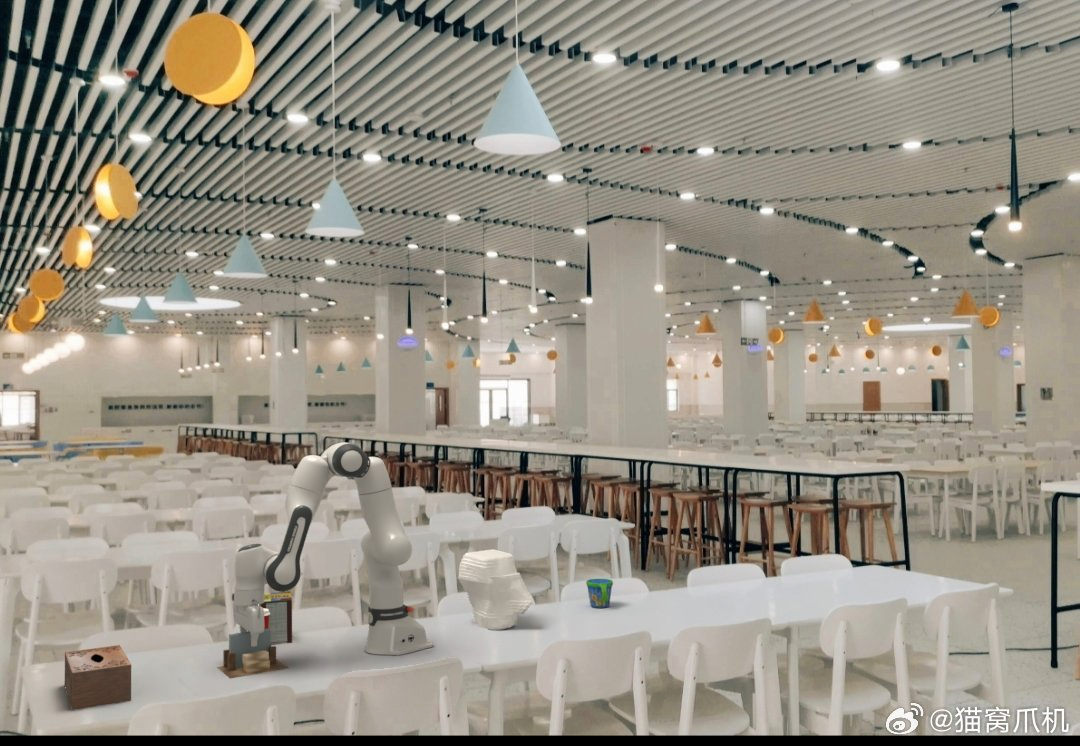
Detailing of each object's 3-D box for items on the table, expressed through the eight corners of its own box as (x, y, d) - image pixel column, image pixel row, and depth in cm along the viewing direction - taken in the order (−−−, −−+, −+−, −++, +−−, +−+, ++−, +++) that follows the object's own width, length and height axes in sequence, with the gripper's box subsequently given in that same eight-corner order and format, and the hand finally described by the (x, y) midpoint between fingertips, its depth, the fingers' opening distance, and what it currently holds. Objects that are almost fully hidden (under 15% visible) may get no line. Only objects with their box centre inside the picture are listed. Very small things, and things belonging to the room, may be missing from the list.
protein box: (290, 635, 319) (290, 590, 320) (292, 645, 304) (292, 598, 305) (259, 637, 316) (259, 593, 317) (260, 648, 301) (260, 601, 302)
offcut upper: (265, 658, 275) (264, 650, 275) (268, 660, 273) (268, 652, 273) (242, 662, 271) (242, 654, 271) (246, 664, 268) (246, 656, 268)
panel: (268, 660, 282) (268, 628, 282) (270, 662, 280) (270, 630, 280) (229, 667, 275) (229, 634, 276) (231, 669, 273) (231, 635, 274)
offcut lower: (266, 666, 275) (266, 658, 275) (269, 669, 272) (269, 660, 273) (243, 670, 271) (243, 662, 271) (246, 673, 269) (246, 664, 269)
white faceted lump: (504, 615, 344) (503, 548, 346) (534, 630, 320) (533, 557, 321) (452, 622, 335) (451, 552, 336) (479, 637, 311) (478, 562, 312)
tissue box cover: (64, 687, 261) (64, 652, 261) (119, 678, 268) (119, 645, 269) (71, 711, 239) (72, 673, 239) (131, 701, 247) (131, 664, 247)
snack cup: (616, 610, 351) (615, 584, 351) (589, 611, 350) (589, 584, 350) (609, 602, 366) (609, 576, 367) (584, 603, 365) (583, 577, 366)
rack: (274, 659, 286) (274, 641, 286) (290, 670, 273) (290, 651, 274) (216, 669, 276) (216, 650, 276) (229, 681, 263) (229, 661, 264)
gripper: (270, 601, 272) (269, 648, 271) (250, 591, 288) (249, 635, 288) (249, 604, 268) (248, 651, 267) (230, 593, 285) (229, 638, 284)
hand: (248, 643), depth 278 cm, fingers open, 8 cm apart
